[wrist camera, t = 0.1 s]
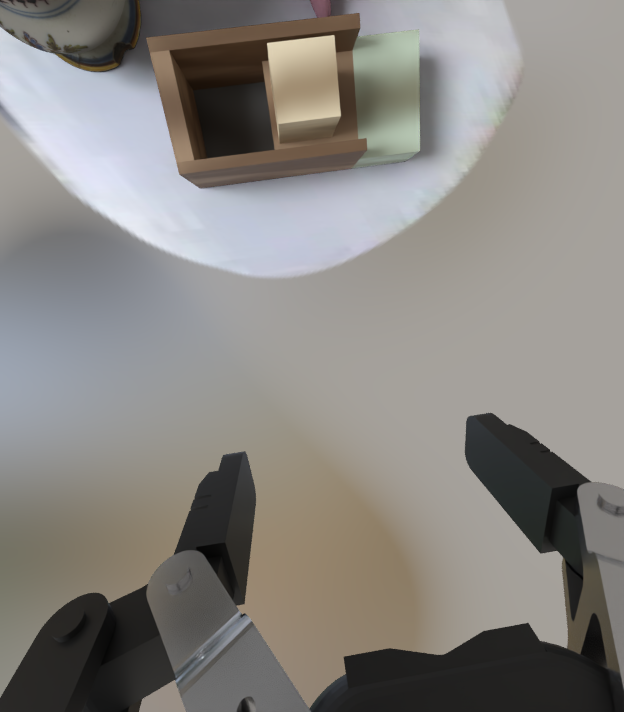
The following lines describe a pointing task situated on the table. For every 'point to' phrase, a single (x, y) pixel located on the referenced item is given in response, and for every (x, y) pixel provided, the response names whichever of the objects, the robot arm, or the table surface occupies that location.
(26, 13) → the apothecary jar
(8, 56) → the table surface
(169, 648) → the robot arm
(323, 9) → the video game controller
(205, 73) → the channel
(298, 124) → the maple block
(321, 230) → the table surface
